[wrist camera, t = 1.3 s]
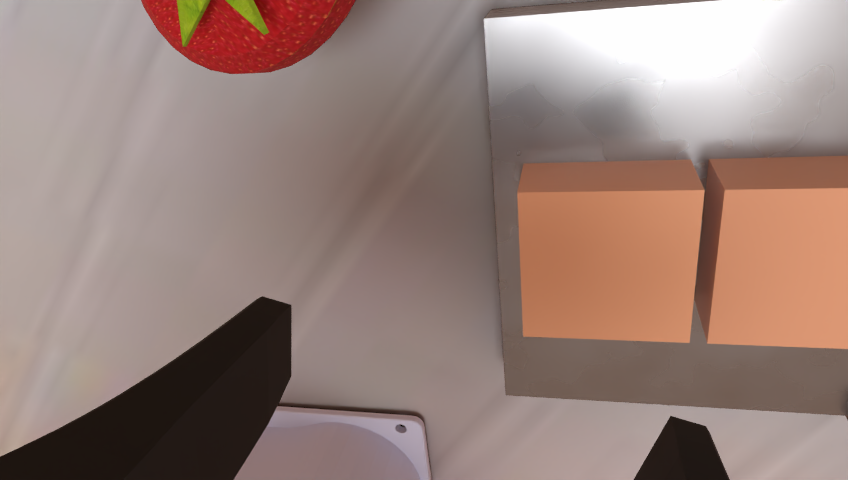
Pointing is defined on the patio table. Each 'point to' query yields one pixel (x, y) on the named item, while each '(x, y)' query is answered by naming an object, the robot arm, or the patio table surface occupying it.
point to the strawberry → (247, 30)
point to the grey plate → (663, 140)
